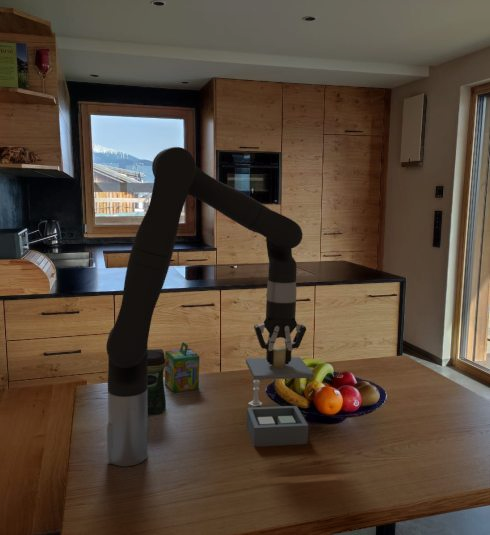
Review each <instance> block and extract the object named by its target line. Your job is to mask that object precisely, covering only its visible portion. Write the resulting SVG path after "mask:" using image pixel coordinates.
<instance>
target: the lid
mask: <svg viewBox="0 0 490 535" xmlns="http://www.w3.org/2000/svg"><path fill="white" fill-rule="evenodd" d="M285 348H286V347H281V346H275V347H273V365H270V364H269V363H268V362H267V360H266V357H252V358H251V357H250V358H245V364H246V366H247V367H248V370H249V372H250V373H251V376H252V378H253V381H254V380H281V379H283V380H287V379H291V380H292V379H314V373H313V372H312V370H311V369H310V368H309V367H308V366H307V364H306V363H305V362H304V360H303V359H302V358H301V357H299V356H297V357H296V356H293V357H292V356H291V361H290V362H289V364H285V362H286V349H285Z"/></svg>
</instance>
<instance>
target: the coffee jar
mask: <svg viewBox="0 0 490 535" xmlns="http://www.w3.org/2000/svg"><path fill="white" fill-rule="evenodd" d="M147 366H148V384H147V395H148V399H147V400H148V416H149V415H158V414H159V415H160V414H162V413H164V412H165V411H166V408H167V405H166V404H167V402H166V401H167V400H166V392H165V383H164V382H165V379H164V371H165V353H164V349H162V348H157V349H156V348H155V349H148V351H147Z"/></svg>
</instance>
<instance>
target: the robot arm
mask: <svg viewBox="0 0 490 535" xmlns="http://www.w3.org/2000/svg"><path fill="white" fill-rule="evenodd" d="M151 169H152V170H151V171H152V175H153V176H154V177H153V178H154V181H153V186H152V192H151V196H150V201H149V204H148V207H147V210H146V213H145V214H144V216H143V218H142V221H141V223H140V224H139V227H138V230H137V232H136V234H135V237H134V240H133V242H132V247H131V250H130V254H129V257H128V262H127V265H126V266H127V267H126V272H125V278H124V285H123V291H122V299H121V300H122V301H121V304H120V309H119V311H118V315H117V318H116V320H115V322H114V323H115V324H114V325H113V327H112V328H111V330H110V331H109V334H108V337H107V342H106V345H105V346H106V347H105V348H106V353H107V354H106V355H107V356H108V359H107V360H108V364H107V365H108V368H107V369H108V370H107V372H108V374H107V415H108V416H107V417H108V418H107V420H108V421H107V425H106V442H107V443H106V449H107V451H106V452H107V454H106V455H107V456H106V458H107V464H108V465H111V464H112V465H114V466H118V467H130V466H131V467H132V466H136V465H138V464H140V463H142V462H144V461H145V460H146V459H148V454H149V452H148V450H149V445H148V432H149V431H148V428H149V427H148V421H149V420H148V416H149V415H148V400H147V399H148V395H147V384H148V366H147V351H148V350H149V349H148V348H149V347H148V342H149V336H150V335H149V334H150V331H151V330H150V329H151V323H152V319H153V318H152V317H153V314H154V310H155V308H156V305H157V303H158V300H159V297H160V296H161V293H162V290H163V287H164V283H165V281H166V278H167V275H168V272H169V268H170V264H171V261H172V257H173V254H174V251H175V250H174V248H175V246H176V245H175V244H176V239H177V235H178V231H179V225H180V220H181V216H182V212H183V208H184V206H185V203H186V200H187V198H188V196H190V197H193V198H195V199H197V200H198V201H201V202H202V203H203V204H206V205H208V206H209V207H211V208H213V209H214V210H215V211H217V212H219V213H220V214H222V215H224V216H225V217H227V218H229V220H232V221H233V222H235V223H237V224H239V225H240V226H241V227H244V228H245V229H247V230H249V231H251V232H254V233H256V234H260V235H262V236H263V237H265V242H266V244H265V245H266V251H267V258H268V280H267V286H266V294H265V297H266V301H265V302H266V303H265V305H266V306H265V320H264V321H263V323H261V324H254V326H253V330H254V332H255V335H256V337H257V340H258V344H259V345H260V347H261V348H262V350H266V354H265V355H266V356H265V358H266V360H267V362H268V363H269V364H270V365H273V348H274V346H275V343H276V341H277V339H279V338H282V339H283V340H284V344H285V347H284V348H285V349H286V362H285V364H289V362H290V361H291V357H292V351H293V349H299V347H300V345H301V343H302V342H303V341H302V340H303V338H304V336H305V333H306V331H307V327H306V326H305V325H304V324H299V323H298V322H297V320H296V310H297V309H296V308H297V307H296V306H297V271H298V270H297V269H298V268H297V267H298V266H297V261H296V260H295V258H294V257H293V249H294V248H296V247H298V246H299V245H300V244H301V242H302V240H303V230H302V228H301V226H300V225H299V224H298V223H297V222H296V221H294V220H293V219H291V218H289V217H287V216H285V215H283V214H281V213H280V212H277V211H274V210H272V209H271V208H269V207H267V206H266V205H264V204H263V203H262V202H260V201H258V200H256V199H254V198H253V197H252V196H250V195H248V194H246V193H244V192H243V191H240V190H238V189H236V188H234V187H232V186H229V185H228V184H225V183H223V182H221V181H219V180H217V179H215V178H214V177H212V176H211V175H209V174H207V173H206V172H205V171H203V170H202V169H201V168H199V166H197V165H196V160H195V158H194V156H193V155H192V153H191V152H190V151H189V150H188V149H186V148H184V147H180V146H171V147H168V148H165V149H163V150H161V151H160V152H159V153H157V154H156V155H155V157H154V158H153V160H152V164H151ZM264 329H266V331H267V332H268V336H267V342H265V339H264V336H263V333H264V331H265V330H264ZM294 330H295V331H296V333H295V336H294V338H293V340H292V336H291V334H292V333H293V331H294Z"/></svg>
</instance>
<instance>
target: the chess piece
mask: <svg viewBox="0 0 490 535" xmlns="http://www.w3.org/2000/svg"><path fill="white" fill-rule="evenodd" d="M252 383H253V386H254V387H253V388H252V390H253V391H254V393H253V399H252V400H251V401H249V402H248V405H251V406H253V407H261V406H262V405H263V402H261V401H260V400H259V392H258V391H260V390H261V389H260V388H259V385H260V379H257V380H254V379H253V381H252Z"/></svg>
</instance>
